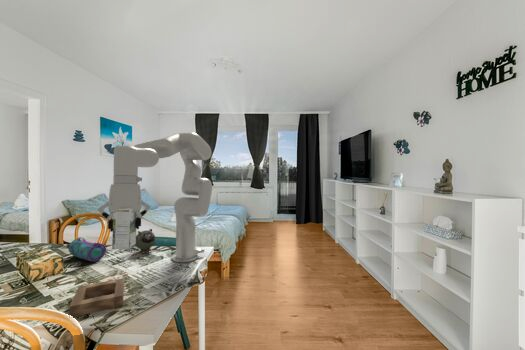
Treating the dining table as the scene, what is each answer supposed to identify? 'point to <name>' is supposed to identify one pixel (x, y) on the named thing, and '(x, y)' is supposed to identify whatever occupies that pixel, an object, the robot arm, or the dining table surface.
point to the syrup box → (124, 229)
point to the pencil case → (86, 249)
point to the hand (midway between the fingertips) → (124, 229)
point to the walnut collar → (99, 303)
